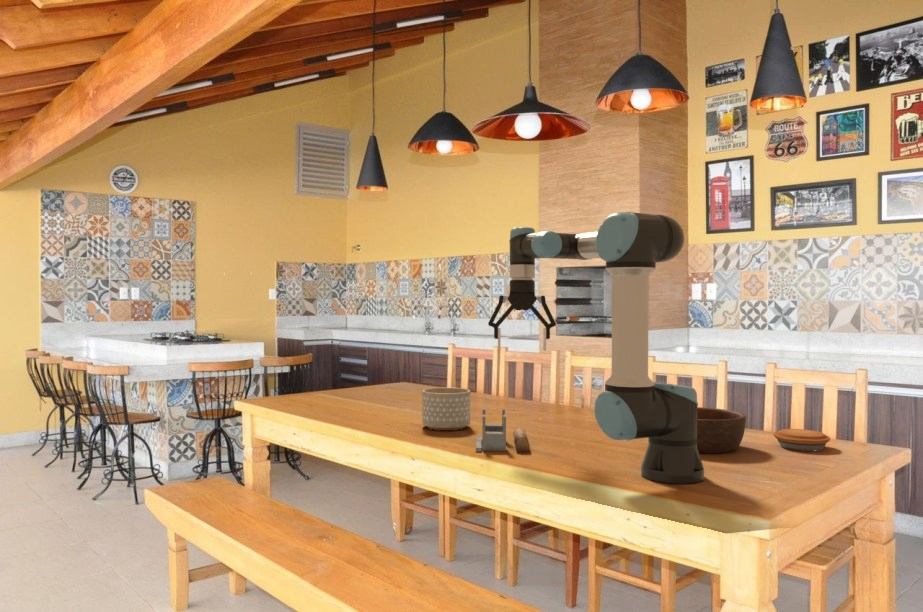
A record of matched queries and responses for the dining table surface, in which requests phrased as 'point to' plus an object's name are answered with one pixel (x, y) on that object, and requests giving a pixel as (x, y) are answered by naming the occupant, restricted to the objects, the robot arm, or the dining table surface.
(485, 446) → the bracket
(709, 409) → the wooden bowl
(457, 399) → the planter
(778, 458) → the dining table surface
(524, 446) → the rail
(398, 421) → the dining table surface
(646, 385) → the robot arm
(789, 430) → the pie
